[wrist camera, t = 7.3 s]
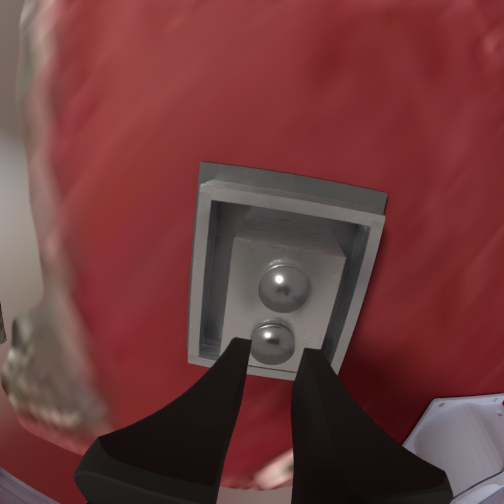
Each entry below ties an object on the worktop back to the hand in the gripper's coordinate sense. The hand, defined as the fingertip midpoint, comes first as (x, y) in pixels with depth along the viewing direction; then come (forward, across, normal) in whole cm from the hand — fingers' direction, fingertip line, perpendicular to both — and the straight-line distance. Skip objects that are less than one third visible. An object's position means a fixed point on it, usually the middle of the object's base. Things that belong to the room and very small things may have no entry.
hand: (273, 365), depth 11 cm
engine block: (+7, 0, 0) cm, 7 cm away
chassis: (+8, 0, 0) cm, 8 cm away
